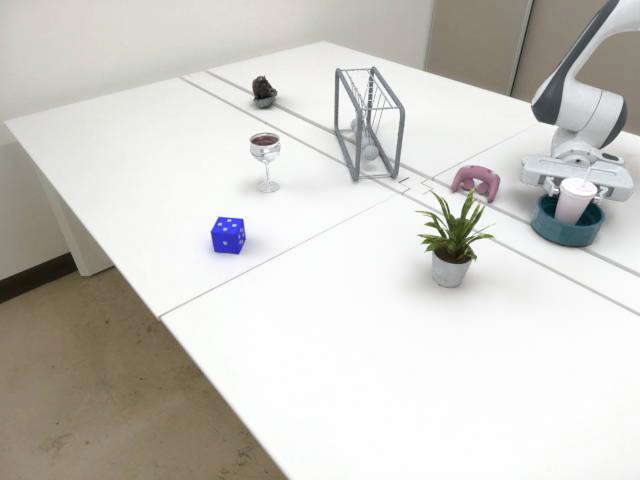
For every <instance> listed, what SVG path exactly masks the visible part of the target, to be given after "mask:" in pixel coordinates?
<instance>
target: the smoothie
mask: <svg viewBox="0 0 640 480" xmlns="http://www.w3.org/2000/svg"><path fill="white" fill-rule="evenodd" d="M591 170H592V167H589V168H588V171H587V173H586V175H585V178H584V179H580V178H566V179H564V180H563V181H562V182H561V184H560V191H559V192H560V194H559V199H558V203H557V208H556V212H555V216H554V219H555V220H558V221H560V222H563V223H566V224H570V225H574V226H575V224H576V223H577V221H578V219H579V218H580V216H581V215H582V213H583V212H584V210H585V209H586V207H587V205H588V204H589V202H590V201H591V199H592V198H594V197H595V196H596V193H597V188H596V186H595V185H594V184H592V183H591V182H589V181H587V179H588V177H589V174H590V172H591Z"/></svg>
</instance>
